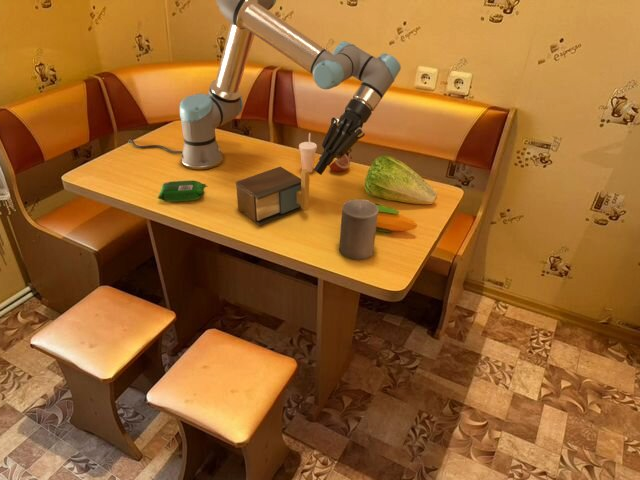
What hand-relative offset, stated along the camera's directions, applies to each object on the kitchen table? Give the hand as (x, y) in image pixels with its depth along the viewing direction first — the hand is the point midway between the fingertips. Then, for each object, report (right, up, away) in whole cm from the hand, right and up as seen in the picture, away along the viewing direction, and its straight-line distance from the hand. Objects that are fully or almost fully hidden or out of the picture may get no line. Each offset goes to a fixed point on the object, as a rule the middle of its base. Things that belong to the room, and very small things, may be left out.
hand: (317, 172), depth 149 cm
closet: (-14, -10, +9) cm, 20 cm away
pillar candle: (+10, -24, -10) cm, 28 cm away
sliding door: (-7, -11, +5) cm, 14 cm away
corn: (+19, -17, -1) cm, 26 cm away
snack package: (-43, -6, +15) cm, 46 cm away
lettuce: (+28, -6, +12) cm, 31 cm away
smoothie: (-1, +6, +30) cm, 30 cm away
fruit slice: (+10, +6, +29) cm, 32 cm away
